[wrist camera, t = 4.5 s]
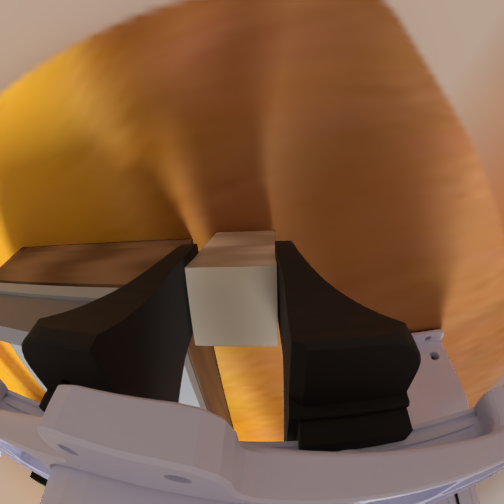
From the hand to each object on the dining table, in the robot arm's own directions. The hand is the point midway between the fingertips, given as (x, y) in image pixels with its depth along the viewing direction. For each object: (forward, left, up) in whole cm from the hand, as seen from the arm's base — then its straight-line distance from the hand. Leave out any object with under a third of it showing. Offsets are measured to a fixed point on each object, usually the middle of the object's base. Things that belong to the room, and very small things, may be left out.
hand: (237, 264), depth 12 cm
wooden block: (0, +2, -4) cm, 4 cm away
